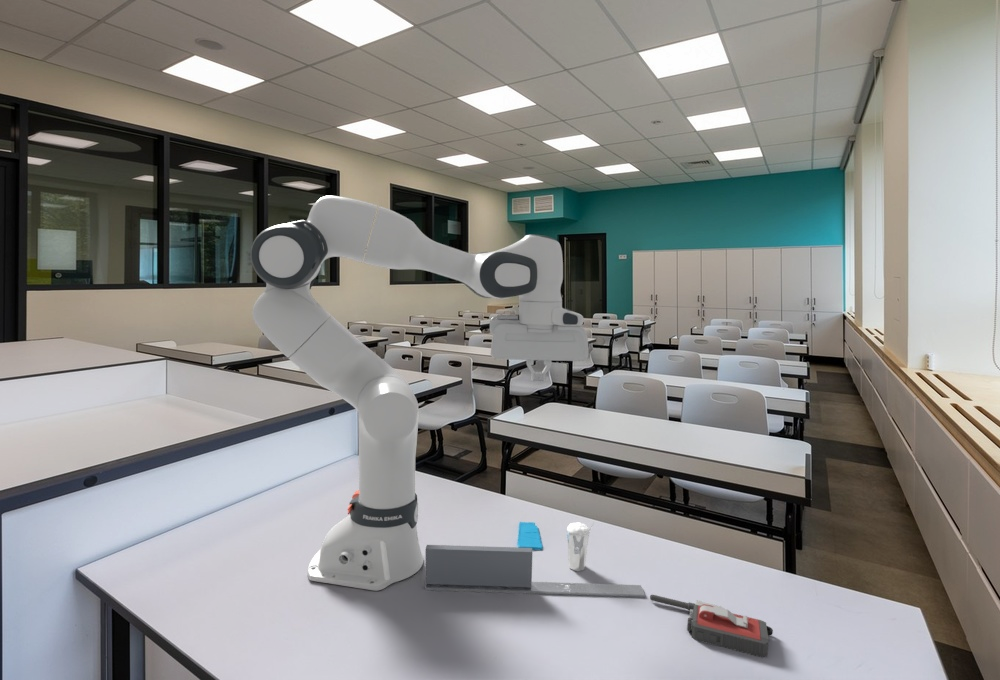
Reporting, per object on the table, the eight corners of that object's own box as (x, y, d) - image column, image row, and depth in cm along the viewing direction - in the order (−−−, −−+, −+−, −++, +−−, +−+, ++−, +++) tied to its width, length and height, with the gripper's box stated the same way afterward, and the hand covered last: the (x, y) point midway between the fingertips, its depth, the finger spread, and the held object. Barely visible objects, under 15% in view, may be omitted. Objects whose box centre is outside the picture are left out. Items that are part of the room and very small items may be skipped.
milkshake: (591, 575, 104) (593, 527, 103) (564, 571, 105) (566, 524, 104) (592, 562, 109) (594, 517, 107) (566, 559, 110) (568, 514, 109)
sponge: (543, 523, 125) (519, 519, 125) (543, 549, 113) (517, 544, 113) (542, 529, 125) (518, 525, 126) (542, 555, 113) (516, 550, 114)
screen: (425, 583, 99) (425, 548, 98) (426, 579, 100) (426, 544, 100) (531, 587, 98) (532, 552, 98) (531, 582, 100) (532, 547, 99)
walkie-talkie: (770, 629, 90) (650, 600, 97) (772, 605, 89) (651, 578, 97) (775, 664, 82) (643, 629, 89) (778, 637, 81) (645, 604, 89)
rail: (424, 590, 98) (424, 587, 98) (427, 580, 101) (427, 578, 101) (644, 597, 97) (644, 594, 97) (640, 587, 100) (640, 585, 100)
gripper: (489, 315, 105) (488, 383, 107) (591, 317, 105) (588, 385, 106) (490, 313, 111) (489, 377, 113) (586, 315, 111) (584, 379, 113)
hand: (538, 381), depth 110 cm, fingers closed
